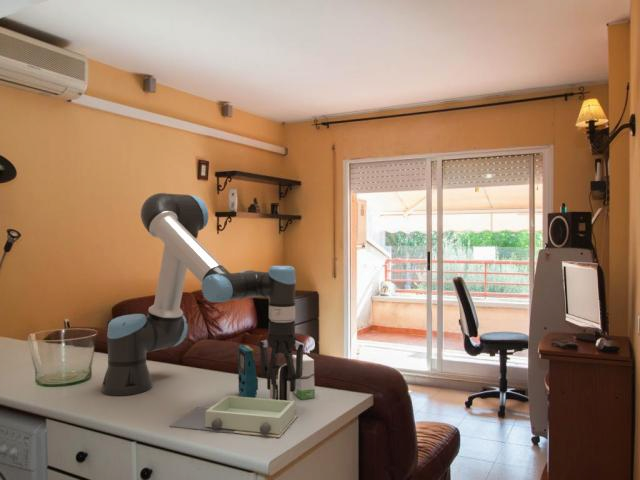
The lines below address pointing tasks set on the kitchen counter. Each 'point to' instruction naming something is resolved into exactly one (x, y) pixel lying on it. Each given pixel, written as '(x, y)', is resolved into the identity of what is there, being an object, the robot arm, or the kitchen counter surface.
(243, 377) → the handheld gaming console
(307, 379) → the ink box
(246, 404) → the shallow sage green tray
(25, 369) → the kitchen counter surface
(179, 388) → the kitchen counter surface
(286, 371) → the battery charger
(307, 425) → the kitchen counter surface
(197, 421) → the track
